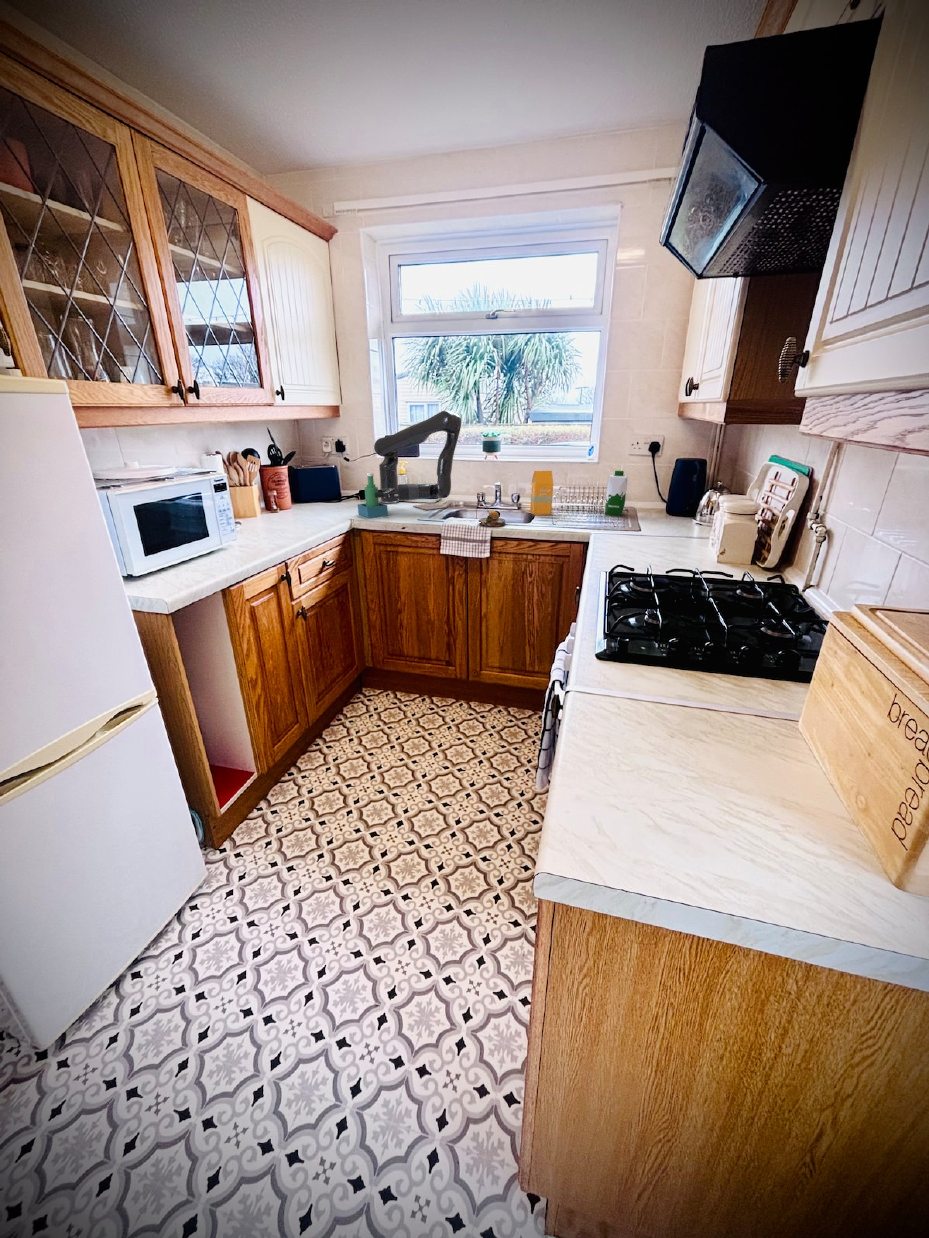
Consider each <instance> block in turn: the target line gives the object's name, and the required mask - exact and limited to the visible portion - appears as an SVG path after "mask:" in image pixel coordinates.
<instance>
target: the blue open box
mask: <svg viewBox="0 0 929 1238" xmlns="http://www.w3.org/2000/svg"><path fill="white" fill-rule="evenodd" d="M357 512H358V513H357V514H358V516H360V517H362V518H364V519H368V520H369V519H376V518H384V517H388V516H389V511H388V504H386V503H382V502H379V506H375V507H366V503H358V504H357Z"/></svg>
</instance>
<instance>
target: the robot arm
mask: <svg viewBox="0 0 929 1238" xmlns="http://www.w3.org/2000/svg"><path fill="white" fill-rule="evenodd" d="M461 428H462V418H461V416H460V415H459V414H458V413H455V412H453V411H450V410H442V411H439V412H438V413H436V414H434V415H433V416H431V417H429V418H427V419H424V420H422V421H420V422H417V423H414V424H412V425H410V426H408V427H405V428H403V429H401V430H399V431H398V432H395V433H394V434H391V435H387V436H384V437H379V438H378V439H377V440H375V442H374V444H373V450H374V453H376V455H378V456H379V457H383V460H382V461H381V462H380V463H379V465H378V469H379V489H378V493H375V497H376V498H378V499H380V503H381V504H386V505H388V504H390V505H391V504H398V503H399V501H400V502H405V501H406V502H407V501H416V500H427V499H446V498H448V497H449V496H450V494H451V490H452V470H453V462H454V456H455V452H456V447H457V444H458V440H459V437H460V434H461V433H460V432H461ZM438 432H445V433H446V440H445V444H444V446H443V448H442V450H441V452H440V454H439V456H438V458H437V459H438V460H437V464H436V465H437V466H436V477H437V483H430V484H429V483H418V484H417V483H401V484H399V483H398V464H399V450H400V449H401V450H402V449H407V448H411V447H415V446H418V445H421V444H423V443H425V442H426V441H427V440H428V438H429V437H430V436H431V435H433V434H435V433H438Z"/></svg>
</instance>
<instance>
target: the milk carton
mask: <svg viewBox="0 0 929 1238" xmlns="http://www.w3.org/2000/svg"><path fill="white" fill-rule="evenodd" d="M624 473H625V471H624V470H615V471H614V474H610V475H609V476H608V480H607V488H606V498H605V516H616V517H621V516H622V515H623V512H624V508H625V504H626V496H627V490H628V482H629V481H628V478H629V477H628V475H626V474H624Z"/></svg>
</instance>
